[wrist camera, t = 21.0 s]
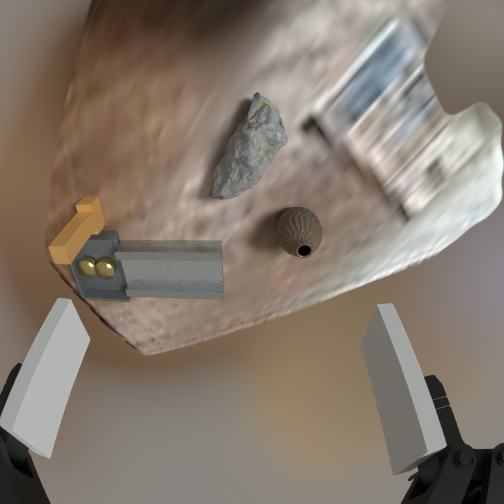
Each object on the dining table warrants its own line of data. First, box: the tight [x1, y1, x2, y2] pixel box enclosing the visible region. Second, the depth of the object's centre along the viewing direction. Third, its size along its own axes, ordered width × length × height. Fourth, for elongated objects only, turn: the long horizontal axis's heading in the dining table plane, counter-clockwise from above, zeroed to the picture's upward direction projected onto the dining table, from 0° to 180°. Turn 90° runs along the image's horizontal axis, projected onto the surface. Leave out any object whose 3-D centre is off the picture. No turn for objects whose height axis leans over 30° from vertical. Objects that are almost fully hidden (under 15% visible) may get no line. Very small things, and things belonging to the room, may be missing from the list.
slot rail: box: [114, 240, 224, 299], centre depth 52 cm, size 10×18×4 cm, turn 89°
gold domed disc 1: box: [77, 255, 97, 279], centre depth 52 cm, size 4×4×2 cm
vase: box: [276, 207, 322, 258], centre depth 45 cm, size 7×7×9 cm
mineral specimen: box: [209, 93, 288, 199], centre depth 40 cm, size 16×7×7 cm, turn 153°
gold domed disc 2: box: [95, 256, 117, 280], centre depth 53 cm, size 4×4×2 cm
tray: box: [69, 231, 131, 302], centre depth 52 cm, size 14×11×3 cm
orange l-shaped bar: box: [48, 196, 105, 264], centre depth 42 cm, size 6×3×13 cm, turn 0°
